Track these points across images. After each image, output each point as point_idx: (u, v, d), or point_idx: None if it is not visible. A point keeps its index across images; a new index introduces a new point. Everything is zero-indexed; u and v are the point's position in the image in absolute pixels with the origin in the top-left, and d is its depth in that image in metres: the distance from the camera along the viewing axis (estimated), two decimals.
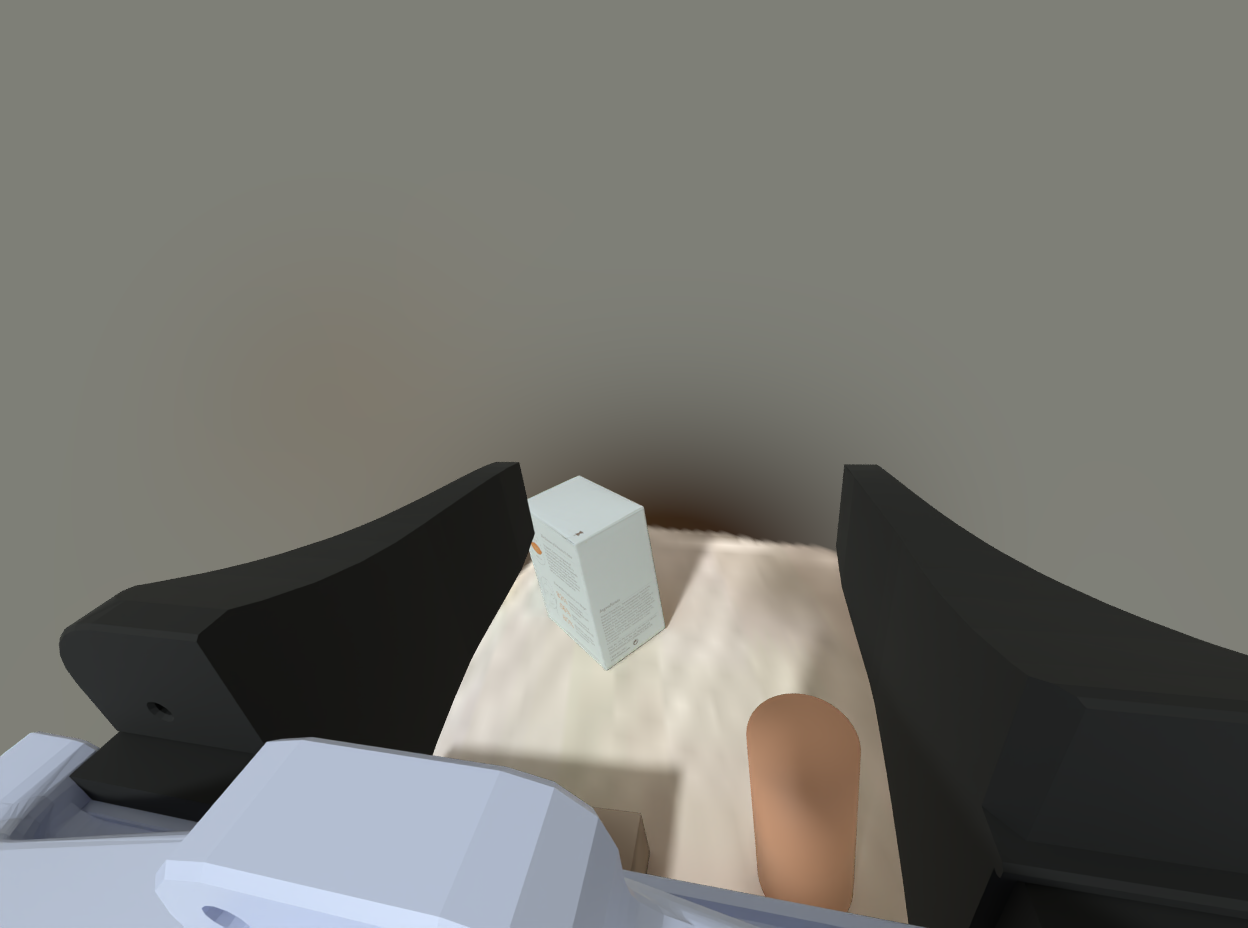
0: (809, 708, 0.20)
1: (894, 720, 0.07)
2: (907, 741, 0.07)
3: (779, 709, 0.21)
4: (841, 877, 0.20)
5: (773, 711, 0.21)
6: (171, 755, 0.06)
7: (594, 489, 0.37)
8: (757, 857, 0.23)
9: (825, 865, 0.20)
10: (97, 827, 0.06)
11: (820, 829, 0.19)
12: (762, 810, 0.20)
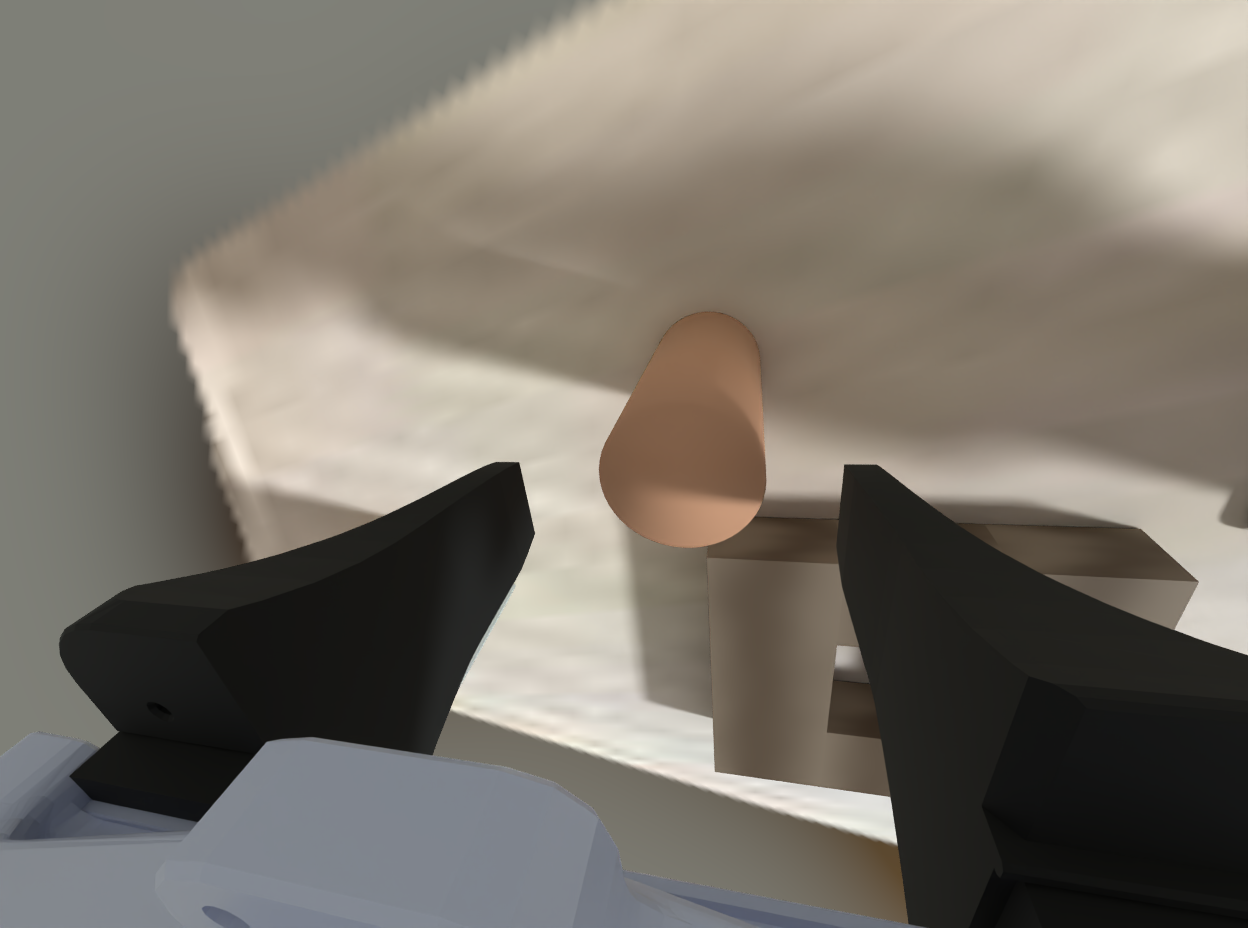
0: (624, 464, 0.13)
1: (894, 720, 0.07)
2: (907, 741, 0.07)
3: (633, 504, 0.13)
4: (747, 355, 0.17)
5: (638, 511, 0.13)
6: (171, 755, 0.06)
7: None
8: None
9: (759, 388, 0.16)
10: (97, 827, 0.06)
11: (762, 426, 0.14)
12: None
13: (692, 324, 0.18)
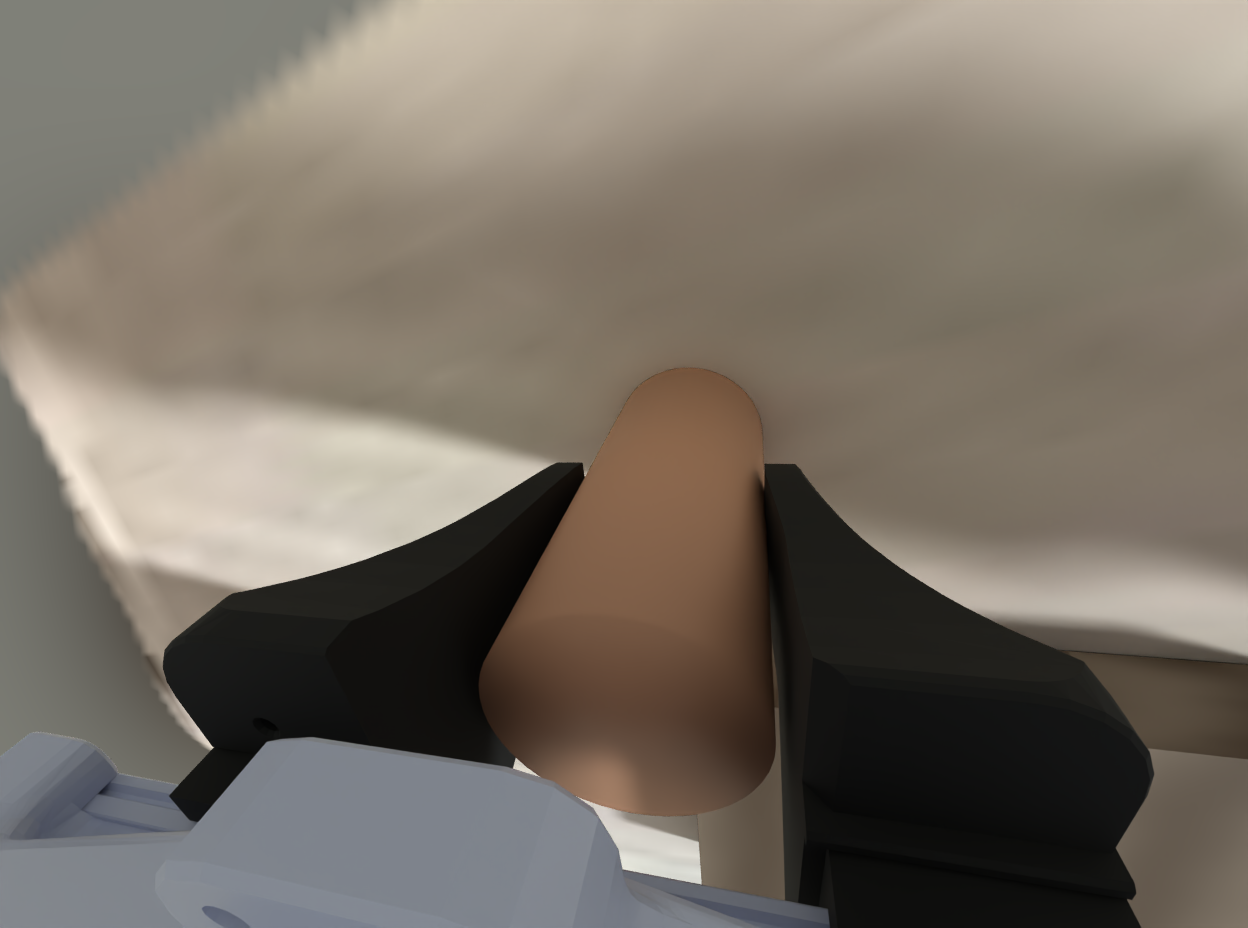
0: (520, 695, 0.07)
1: (782, 708, 0.08)
2: (785, 727, 0.07)
3: (544, 749, 0.08)
4: (743, 447, 0.11)
5: (554, 759, 0.08)
6: None
7: None
8: None
9: (761, 509, 0.10)
10: (97, 827, 0.06)
11: (767, 600, 0.08)
12: None
13: (664, 392, 0.12)
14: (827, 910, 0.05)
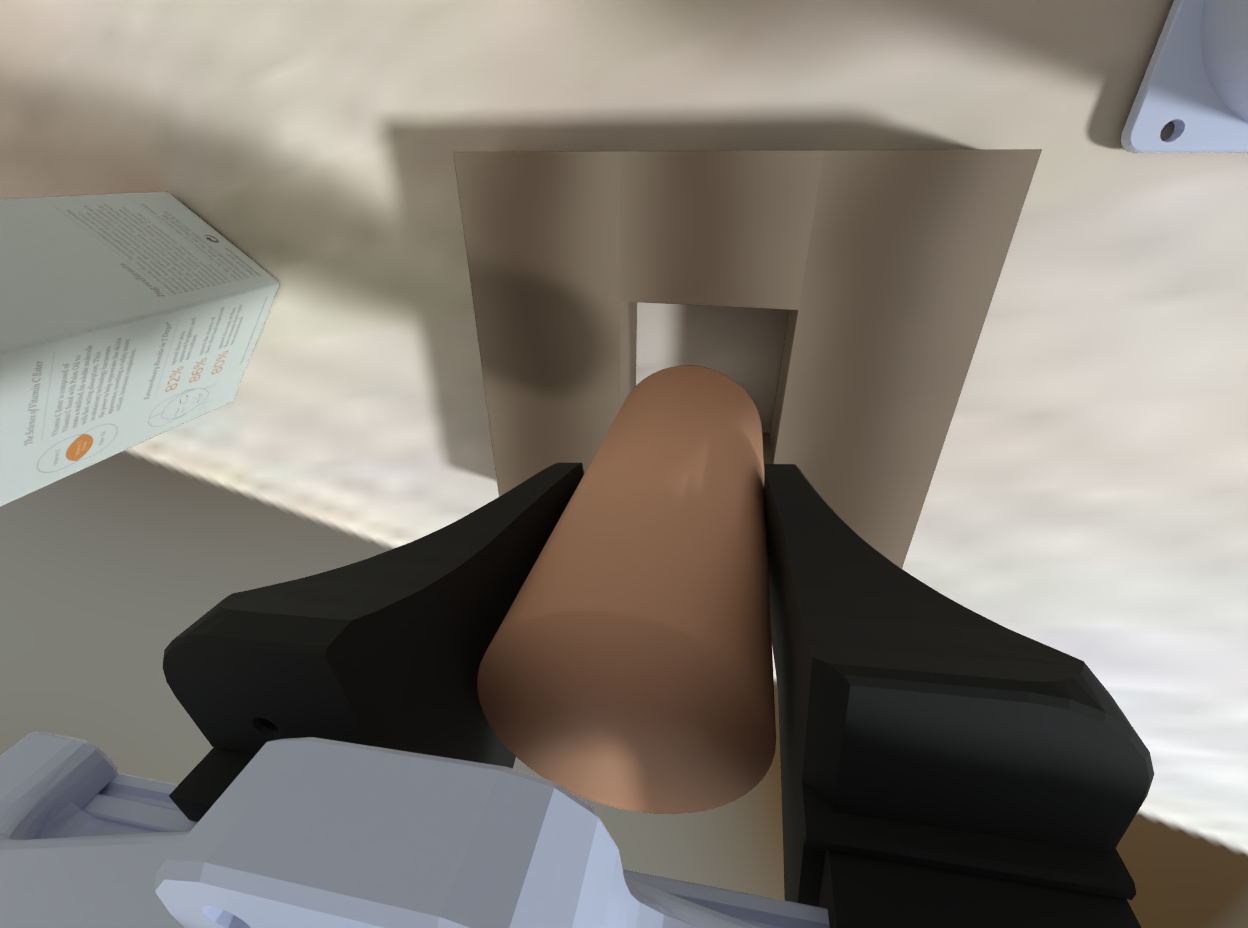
0: (519, 696, 0.07)
1: (782, 708, 0.08)
2: (785, 727, 0.07)
3: (547, 750, 0.08)
4: (739, 441, 0.11)
5: (556, 760, 0.08)
6: None
7: None
8: None
9: (759, 501, 0.10)
10: (97, 827, 0.06)
11: (766, 592, 0.08)
12: None
13: (659, 391, 0.12)
14: (827, 910, 0.05)
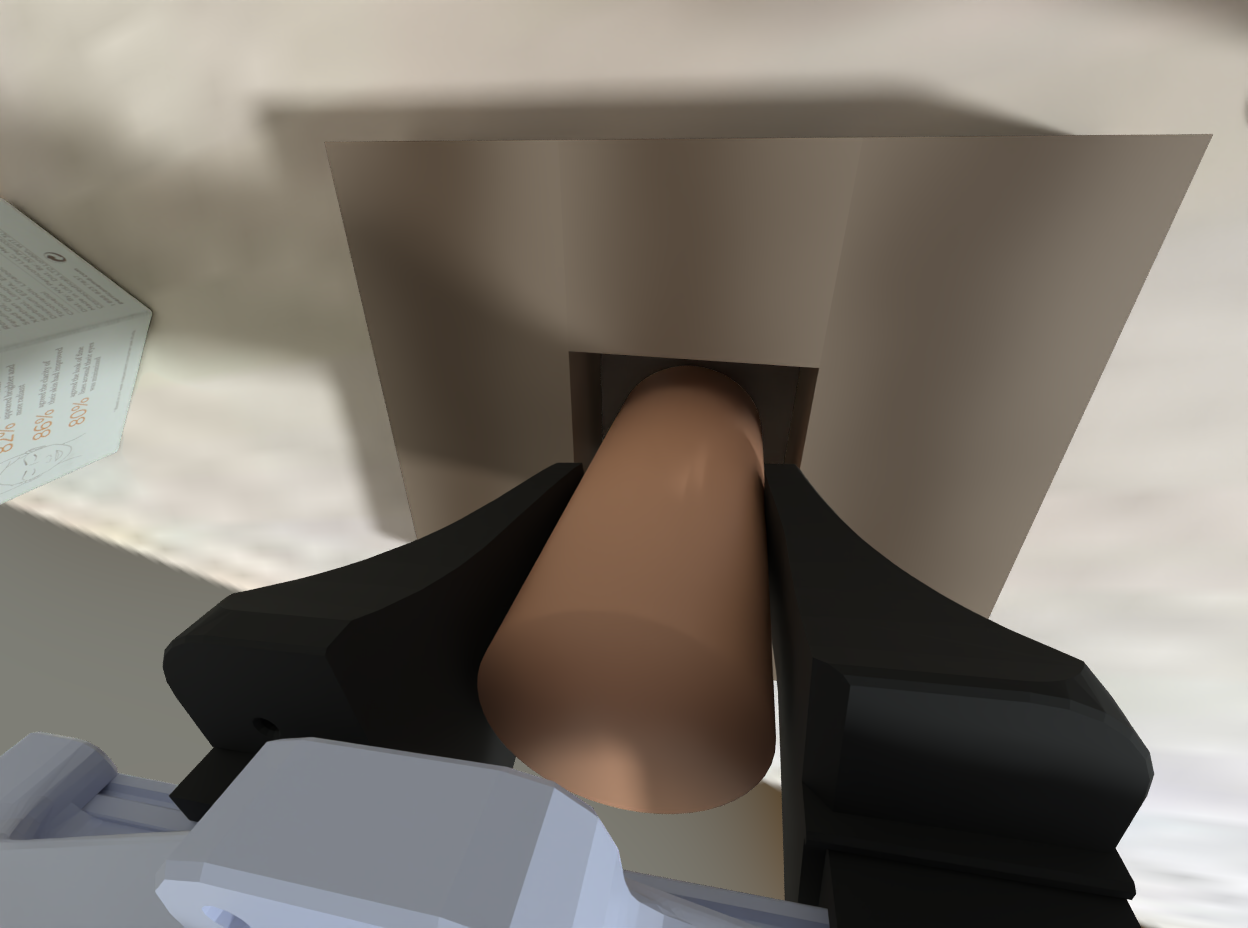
0: (519, 696, 0.07)
1: (782, 708, 0.08)
2: (784, 726, 0.07)
3: (547, 750, 0.08)
4: (739, 441, 0.11)
5: (557, 760, 0.08)
6: None
7: None
8: None
9: (759, 501, 0.10)
10: (97, 827, 0.06)
11: (766, 592, 0.08)
12: None
13: (658, 391, 0.12)
14: (827, 910, 0.05)
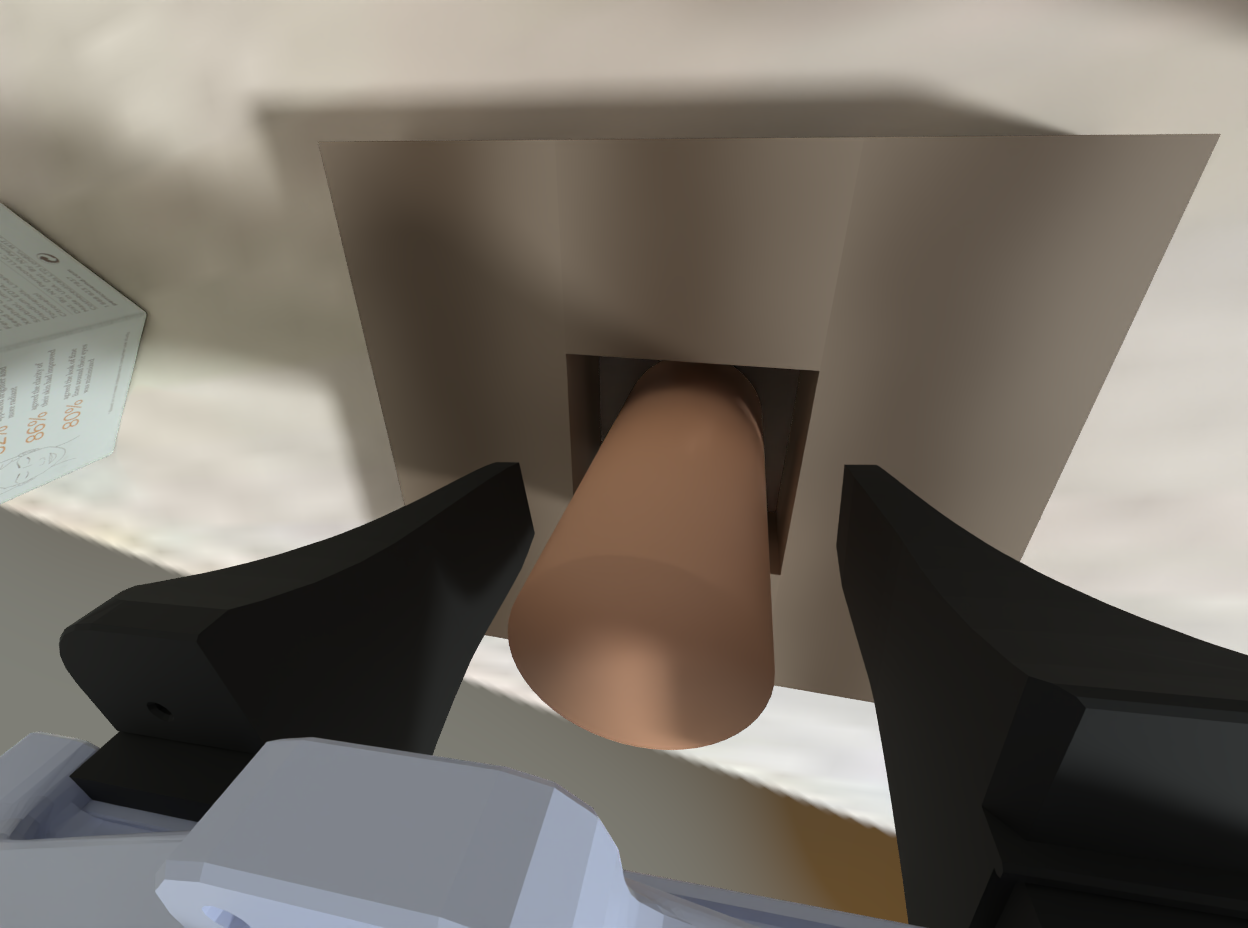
0: (545, 639, 0.08)
1: (894, 720, 0.07)
2: (907, 741, 0.07)
3: (569, 690, 0.08)
4: (741, 422, 0.12)
5: (577, 701, 0.08)
6: (171, 755, 0.06)
7: None
8: None
9: (759, 475, 0.11)
10: (97, 827, 0.06)
11: (765, 551, 0.09)
12: None
13: (665, 377, 0.13)
14: None
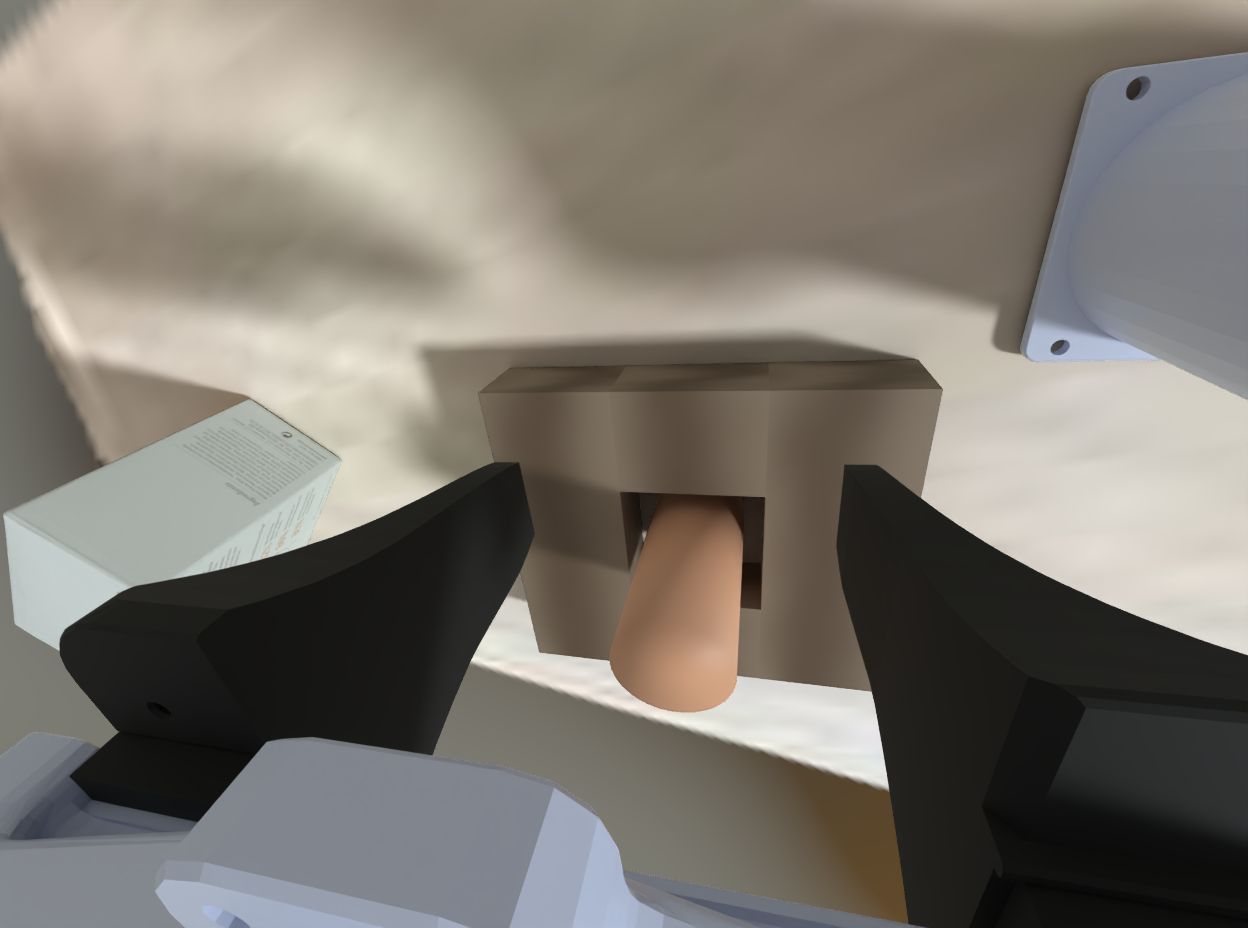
0: (628, 660, 0.17)
1: (894, 720, 0.07)
2: (907, 741, 0.07)
3: (640, 685, 0.17)
4: (724, 525, 0.20)
5: (645, 689, 0.17)
6: (171, 755, 0.06)
7: (24, 596, 0.20)
8: None
9: (735, 560, 0.19)
10: (97, 827, 0.06)
11: (734, 608, 0.17)
12: None
13: (679, 495, 0.22)
14: None
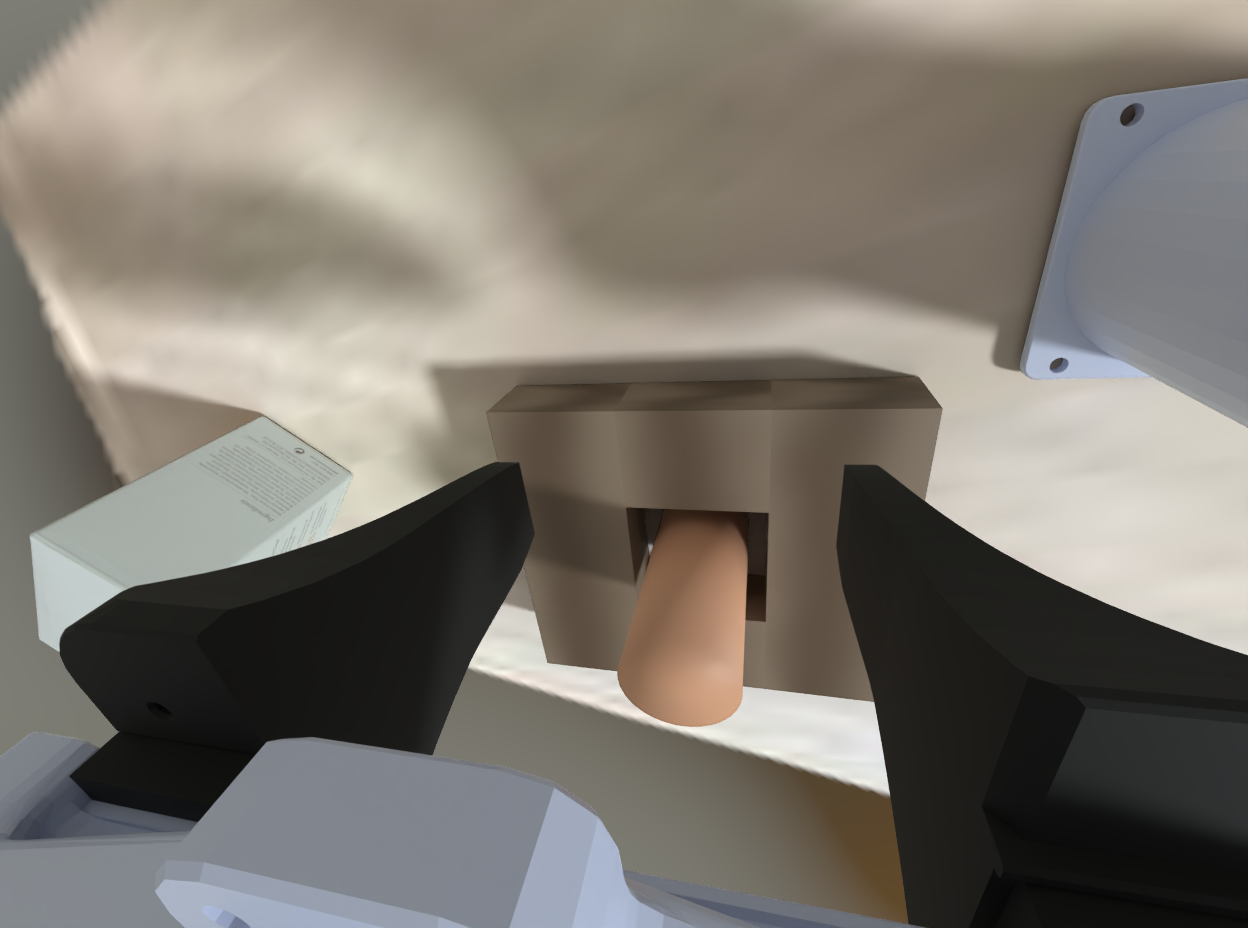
0: (635, 676, 0.17)
1: (894, 720, 0.07)
2: (907, 741, 0.07)
3: (648, 700, 0.17)
4: (729, 540, 0.21)
5: (652, 704, 0.17)
6: (171, 755, 0.06)
7: (49, 612, 0.21)
8: None
9: (739, 575, 0.20)
10: (97, 827, 0.06)
11: (739, 624, 0.18)
12: None
13: None
14: None
